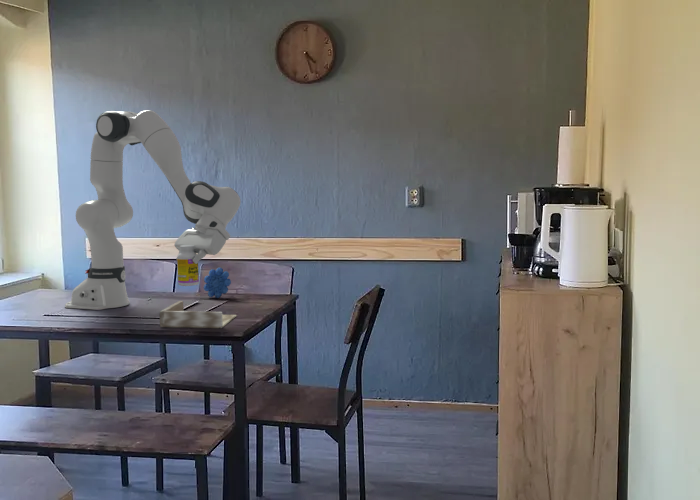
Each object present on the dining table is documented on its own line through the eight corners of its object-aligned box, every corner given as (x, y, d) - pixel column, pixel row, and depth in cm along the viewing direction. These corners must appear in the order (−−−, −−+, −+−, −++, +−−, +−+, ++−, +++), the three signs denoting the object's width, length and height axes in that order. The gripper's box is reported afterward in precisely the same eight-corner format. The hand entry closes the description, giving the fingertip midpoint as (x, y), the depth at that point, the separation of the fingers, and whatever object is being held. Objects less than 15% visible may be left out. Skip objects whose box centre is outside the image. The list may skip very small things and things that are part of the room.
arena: (160, 327, 231) (159, 311, 230) (179, 315, 248) (179, 300, 248) (221, 328, 228) (220, 312, 228) (236, 316, 246) (236, 301, 245)
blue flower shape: (236, 296, 282) (235, 266, 280) (228, 300, 275) (227, 268, 274) (209, 295, 285) (208, 265, 284) (201, 298, 279) (200, 267, 277)
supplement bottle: (188, 287, 231) (186, 247, 230) (174, 285, 235) (171, 246, 233) (203, 283, 237) (201, 244, 235) (188, 282, 241) (186, 244, 239)
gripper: (184, 221, 246) (161, 253, 239) (222, 224, 232) (199, 257, 226) (195, 233, 249) (173, 265, 243) (233, 236, 236) (211, 269, 230)
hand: (186, 261), depth 235 cm, fingers closed on supplement bottle, 7 cm apart
